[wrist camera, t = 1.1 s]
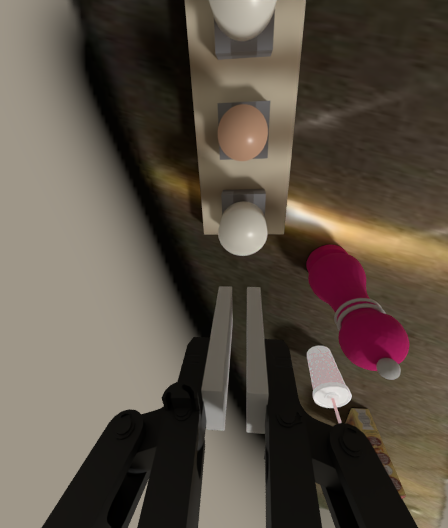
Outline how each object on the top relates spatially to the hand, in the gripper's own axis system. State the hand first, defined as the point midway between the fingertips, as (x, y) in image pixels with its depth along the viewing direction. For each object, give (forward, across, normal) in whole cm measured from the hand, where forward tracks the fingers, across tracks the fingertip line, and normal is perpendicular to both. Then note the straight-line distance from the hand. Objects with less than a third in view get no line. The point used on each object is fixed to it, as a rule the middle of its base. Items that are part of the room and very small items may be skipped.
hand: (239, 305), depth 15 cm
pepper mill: (+23, +13, -10) cm, 28 cm away
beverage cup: (+23, +15, -30) cm, 41 cm away
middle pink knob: (+17, 0, +9) cm, 19 cm away
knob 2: (+17, 0, 0) cm, 17 cm away
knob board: (+22, 0, +9) cm, 24 cm away
